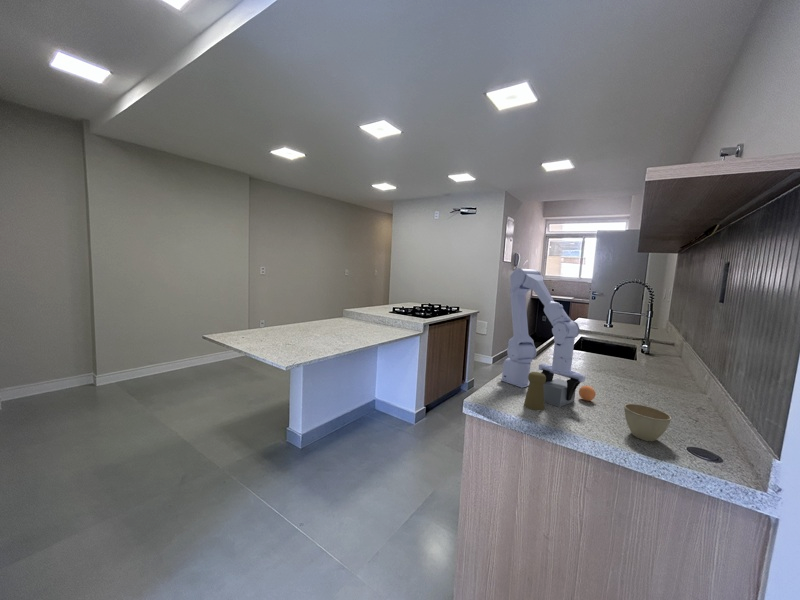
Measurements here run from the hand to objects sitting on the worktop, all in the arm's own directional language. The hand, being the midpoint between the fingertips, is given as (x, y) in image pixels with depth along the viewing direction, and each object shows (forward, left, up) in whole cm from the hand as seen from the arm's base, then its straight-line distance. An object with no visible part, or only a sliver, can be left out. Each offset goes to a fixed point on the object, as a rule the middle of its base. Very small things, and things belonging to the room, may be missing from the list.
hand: (558, 396), depth 108 cm
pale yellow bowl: (+25, -4, -2) cm, 25 cm away
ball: (+5, +10, +1) cm, 11 cm away
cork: (-2, -12, -2) cm, 12 cm away
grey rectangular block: (0, 0, -2) cm, 2 cm away
